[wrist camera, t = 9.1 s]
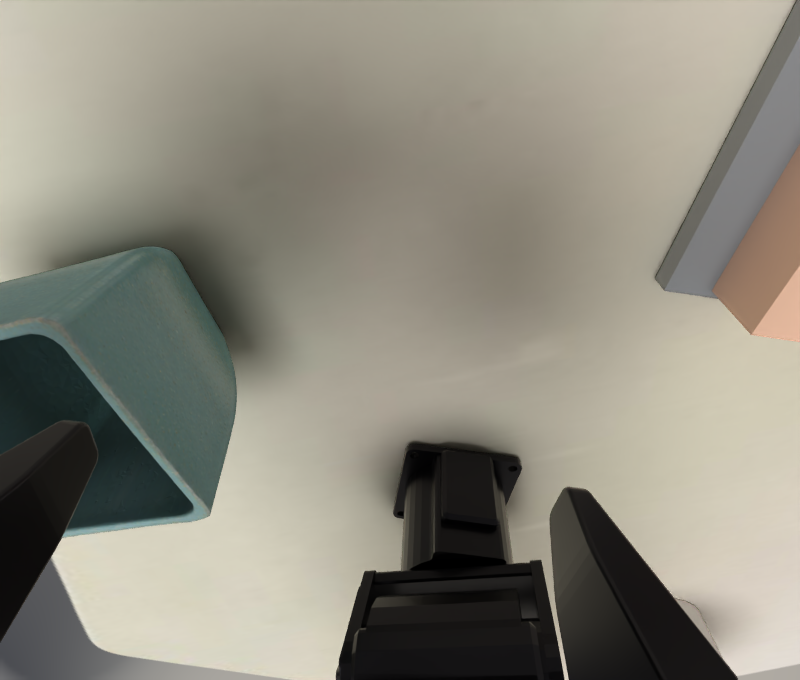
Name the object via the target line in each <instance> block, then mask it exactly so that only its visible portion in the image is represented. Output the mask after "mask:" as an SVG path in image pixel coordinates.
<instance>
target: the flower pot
mask: <svg viewBox="0 0 800 680" xmlns="http://www.w3.org/2000/svg"><path fill="white" fill-rule="evenodd" d="M236 402H237V391H236V378H235V372H234V367H233V363H232V360H231V356H230V353H229V350H228V347H227V344H226V342H225V339H224V336H223V334H222V332H221V331H220V329H219V327H218V325H217V324H216V322H215V320H214V319H213V317H212V315H211V314H210V312H209V310H208V309H207V307H206V305H205V304H204V302H203V300H202V299H201V297H200V295H199V293H198V292H197V290H196V288H195V286H194V285H193V283H192V281H191V280H190V278H189V276H188V274H187V273H186V271H185V269H184V267H183V266H182V264H181V262H180V260H179V259H178V257H177V256H176V255H175V254H174V253H173V252H172V251H170V250H168V249H165V248H161V247H154V246H150V247H141V248H136V249H132V250H128V251H124V252H120V253H117V254H113V255H109V256H105V257H102V258H98V259H94V260H90V261H86V262H82V263H78V264H74V265H71V266H67V267H63V268H59V269H55V270H51V271H47V272H43V273H39V274H35V275H31V276H27V277H22V278H18V279H14V280H9V281H6V282H2V283H0V455H1V454H3V453H4V452H6V451H8V450H10V449H11V448H13V447H15V446H17V445H18V444H20V443H22V442H24V441H25V440H27V439H29V438H31V437H32V436H34V435H36V434H38V433H39V432H41V431H43V430H45V429H46V428H48V427H50V426H52V425H53V424H55V423H57V422H59V421H62V420H72V421H80V422H85V423H86V424H88V425H89V427H90V430H91V432H92V435H93V438H94V441H95V443H96V446H97V449H98V460H97V463H96V466H95V468H94V470H93V472H92V474H91V477H90V479H89V481H88V483H87V485H86V487H85V490H84V492H83V494H82V496H81V498H80V500H79V503H78V505H77V507H76V509H75V511H74V513H73V516H72V518H71V520H70V522H69V524H68V526H67V528H66V531H65V533H64V535H63V537H62V538H66V537H72V536H78V535H86V534H94V533H100V532H110V531H118V530H124V529H131V528H139V527H145V526H155V525H164V524H172V523H183V522H192V521H197V520H201V519H204V518H206V517H208V516H210V513H211V509H212V505H213V502H214V498H215V494H216V490H217V487H218V483H219V479H220V475H221V471H222V468H223V464H224V460H225V456H226V452H227V448H228V444H229V441H230V437H231V432H232V428H233V424H234V419H235V413H236Z"/></svg>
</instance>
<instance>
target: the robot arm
mask: <svg viewBox="0 0 800 680" xmlns="http://www.w3.org/2000/svg"><path fill="white" fill-rule="evenodd" d="M414 452H416V453H414ZM97 460H98V449H97V446H96V443H95V441H94V438H93V435H92V432H91V430H90V427H89V425H88V424H86V423H85V422H80V421H72V420H62V421H59V422H57V423H55V424H53V425H52V426H50V427H48V428H46V429H45V430H43V431H41V432H39V433H38V434H36V435H34V436H32V437H31V438H29V439H27V440H25V441H24V442H22V443H20V444H18V445H17V446H15V447H13V448H11V449H10V450H8V451H6V452H4V453H3V454H1V455H0V642H1V641H2V639H3V637H4V636H5V634H6V632H7V630H8V629H9V627H10V625H11V624H12V622H13V620H14V619H15V617H16V615H17V614H18V612H19V610H20V608H21V607H22V605H23V603H24V602H25V600H26V598H27V597H28V595H29V593H30V592H31V590H32V588H33V587H34V585H35V583H36V582H37V580H38V578H39V577H40V575H41V573H42V572H43V570H44V568H45V566H46V565H47V563H48V561H49V560H50V558H51V556H52V555H53V553H54V551H55V549H56V548H57V546H58V544H59V542H60V541H61V539H62V537H63V535H64V533H65V531H66V528H67V526H68V524H69V522H70V520H71V518H72V516H73V513H74V511H75V509H76V507H77V505H78V503H79V500H80V498H81V496H82V494H83V492H84V490H85V487H86V485H87V483H88V481H89V479H90V477H91V474H92V472H93V470H94V468H95V466H96V463H97ZM521 470H522V466H521V461H520V460H519V459H518V458H515V457H509V456H502V455H494V454H487V453H480V452H472V451H465V450H457V449H450V448H443V447H435V446H428V445H420V444H411V445H409V446H407V448H406V451H405V456H404V461H403V465H402V470H401V475H400V480H399V484H398V489H397V494H396V499H395V503H394V510H393V514H394V516H395V517H397V518H402V519H404V525H403V542H402V559H401V571H390V572H376V571H365V572H364V575H363V579H362V582H361V586H360V587H359V589H358V592H357V596H356V599H355V603H354V607H353V610H352V614H351V618H350V621H349V625H348V629H347V632H346V636H345V640H344V643H343V647H342V651H341V654H340V658H339V666H338V668H337V671H336V680H564V674H563V668H562V663H561V657H560V652H559V646H558V641H557V636H556V631H555V626H554V621H553V616H552V611H551V606H550V601H549V597H548V592H547V587H546V582H545V577H544V572H543V567H542V562H541V560H531V561H530V563H516V564H513V557H512V550H511V542H510V535H509V528H508V520H507V513H506V504H507V502H508V500H509V497H510V495H511V493H512V490H513V488H514V486H515V484H516V481H517V479H518V477H519V475H520V472H521ZM550 535H551V550H552V564H553V578H554V592H555V602H556V609H557V616H558V621H559V627H560V632H561V638H562V644H563V649H564V655H565V660H566V666H567V672H568V677H569V680H738V678H737V676H736V675H735V674H734V672H733V671H732V670H731V669H730V667H729V666H728V665H727V664H726V662H725V661H724V660H723V659H722V657H721V656H720V655H719V654H718V652H717V651H716V650H715V649H714V647H713V646H712V645H711V644H710V642H709V641H708V640H707V639H706V637H705V636H704V635H703V633H702V632H701V631H700V630H699V628H698V627H697V626H696V625H695V623H694V622H693V621H692V620H691V618H690V617H689V616H688V615H687V613H686V612H685V611H684V610H683V608H682V607H681V606H680V605H679V603H678V602H677V601H676V600H675V598H674V597H673V596H672V595H671V593H670V592H669V591H668V590H667V588H666V587H665V586H664V585H663V583H662V582H661V581H660V580H659V578H658V577H657V576H656V575H655V573H654V572H653V571H652V570H651V568H650V567H649V566H648V565H647V563H646V562H645V561H644V560H643V558H642V557H641V556H640V555H639V553H638V552H637V551H636V550H635V548H634V547H633V546H632V544H631V543H630V542H629V541H628V539H627V538H626V537H625V536H624V534H623V533H622V532H621V531H620V529H619V528H618V527H617V526H616V524H615V523H614V522H613V521H612V519H611V518H610V517H609V516H608V514H607V513H606V512H605V511H604V509H603V508H602V507H601V506H600V504H599V503H598V502H597V501H596V499H595V498H594V497H593V496H592V494H591V493H590V492H589V491H587V490H586V489H582V488H575V487H566V488H564V489H563V490H562V492H561V494H560V496H559V498H558V499H557V501H556V503H555V505H554V507H553V509H552V511H551V514H550Z"/></svg>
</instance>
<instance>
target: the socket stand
mask: <svg viewBox="0 0 800 680" xmlns="http://www.w3.org/2000/svg"><path fill="white" fill-rule="evenodd" d="M655 279H656V280H657V282H658V283H659V284H660V286H661V287H662V289H663V290H664V291H669V292H676V293H683V294H690V295H696V296H703V297H710V298H717V299H719V300H720V301H721V302H722V303H723V304H724V305H725V306H726V307H727V308H728V310H729V311H730V312H731V313H732V314H733V315H734V316H735V317H736V318H737V320H738V321H739V322H740V323H741V324H742V325H743V326H744V327H745V328H746V330H747V331H748V332H749V333H750V334H751V335H756V336H763V337H770V338H776V339H783V340H790V341H797V342H800V0H797V1H796V3H795V5H794V7H793V9H792V11H791V13H790V15H789V17H788V19H787V21H786V23H785V25H784V27H783V29H782V31H781V33H780V35H779V37H778V39H777V40H776V42H775V44H774V46H773V48H772V50H771V52H770V54H769V56H768V58H767V60H766V62H765V64H764V66H763V68H762V70H761V72H760V74H759V76H758V78H757V80H756V82H755V84H754V86H753V88H752V89H751V91H750V93H749V95H748V97H747V99H746V101H745V103H744V105H743V107H742V109H741V111H740V113H739V115H738V117H737V119H736V121H735V123H734V125H733V127H732V129H731V131H730V133H729V135H728V137H727V138H726V140H725V142H724V144H723V146H722V148H721V150H720V152H719V154H718V156H717V158H716V160H715V162H714V164H713V166H712V168H711V170H710V172H709V174H708V176H707V178H706V180H705V182H704V184H703V186H702V187H701V189H700V191H699V193H698V195H697V197H696V199H695V201H694V203H693V205H692V207H691V209H690V211H689V213H688V215H687V217H686V219H685V221H684V223H683V225H682V227H681V229H680V231H679V233H678V235H677V236H676V238H675V240H674V242H673V244H672V246H671V248H670V250H669V252H668V254H667V256H666V258H665V260H664V262H663V264H662V266H661V268H660V270H659V272H658V274H657V276H656V278H655Z"/></svg>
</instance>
